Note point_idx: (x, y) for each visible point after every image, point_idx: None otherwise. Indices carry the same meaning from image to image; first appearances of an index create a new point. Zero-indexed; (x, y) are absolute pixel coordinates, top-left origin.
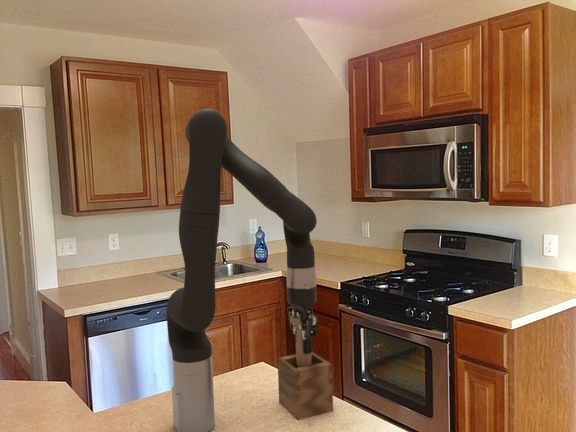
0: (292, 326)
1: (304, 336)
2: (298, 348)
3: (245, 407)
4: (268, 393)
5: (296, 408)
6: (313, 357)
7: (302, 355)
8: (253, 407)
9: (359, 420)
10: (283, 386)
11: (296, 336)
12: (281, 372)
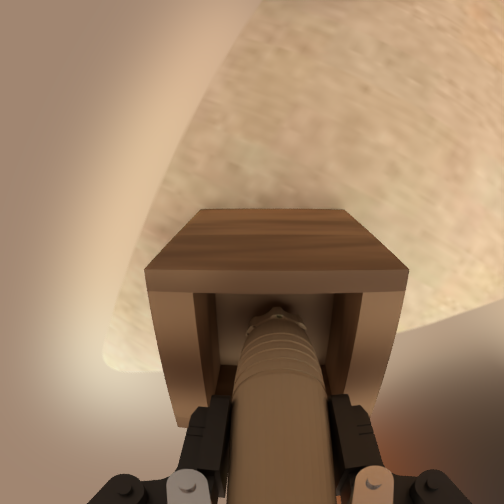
0: (419, 501)
1: (167, 491)
2: (263, 400)
3: (365, 98)
4: (419, 210)
5: (197, 217)
6: None
7: (240, 381)
8: (353, 120)
9: (138, 343)
10: (312, 227)
11: (303, 467)
12: (342, 245)
